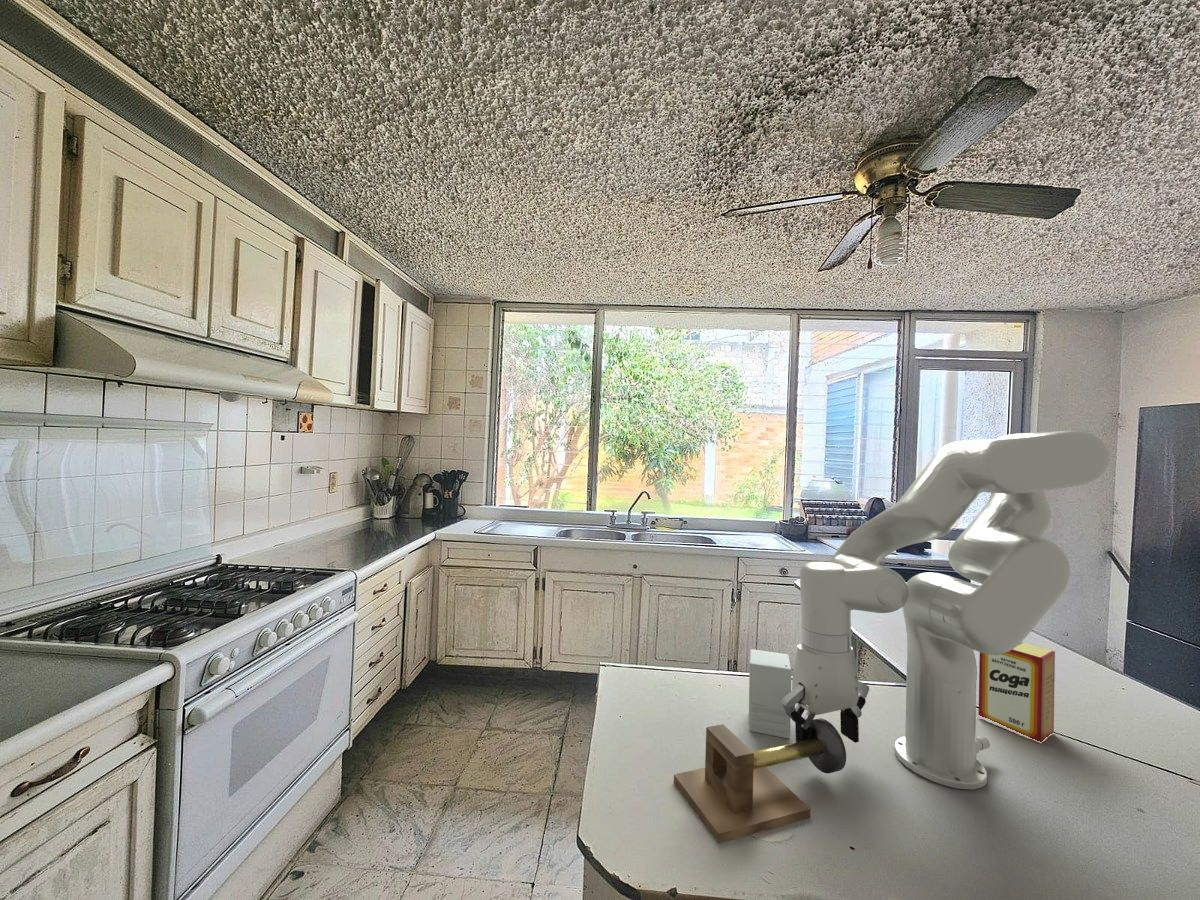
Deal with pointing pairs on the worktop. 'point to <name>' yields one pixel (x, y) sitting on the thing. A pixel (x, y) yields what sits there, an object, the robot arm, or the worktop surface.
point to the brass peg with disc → (808, 750)
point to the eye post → (737, 790)
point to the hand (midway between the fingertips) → (827, 743)
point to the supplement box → (769, 692)
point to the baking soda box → (1019, 690)
